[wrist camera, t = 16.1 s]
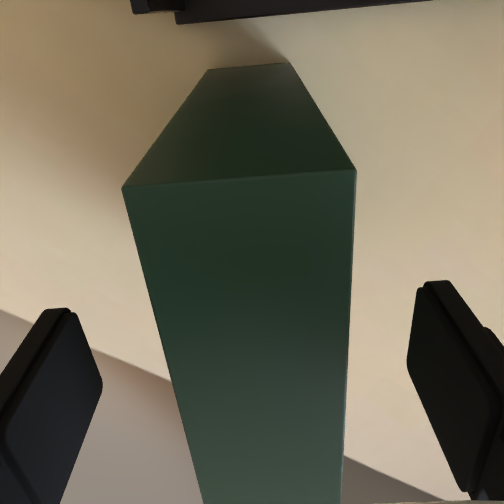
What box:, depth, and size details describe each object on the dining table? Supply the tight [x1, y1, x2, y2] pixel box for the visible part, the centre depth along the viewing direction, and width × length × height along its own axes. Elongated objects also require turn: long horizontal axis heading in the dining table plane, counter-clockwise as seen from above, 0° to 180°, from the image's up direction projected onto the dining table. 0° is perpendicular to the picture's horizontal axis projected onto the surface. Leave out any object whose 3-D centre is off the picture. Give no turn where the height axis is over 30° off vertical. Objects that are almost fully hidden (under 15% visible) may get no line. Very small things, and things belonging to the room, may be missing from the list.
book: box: [121, 62, 357, 504], centre depth 16 cm, size 4×11×15 cm, turn 5°
